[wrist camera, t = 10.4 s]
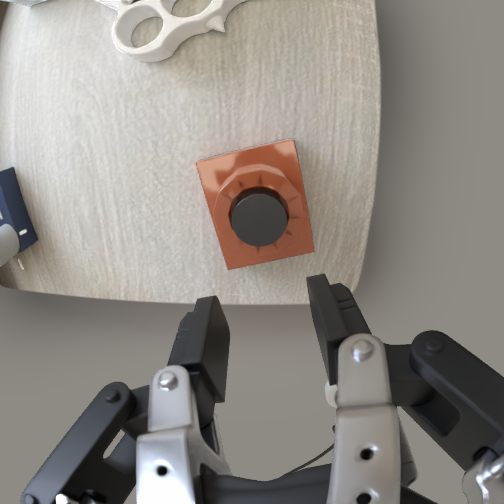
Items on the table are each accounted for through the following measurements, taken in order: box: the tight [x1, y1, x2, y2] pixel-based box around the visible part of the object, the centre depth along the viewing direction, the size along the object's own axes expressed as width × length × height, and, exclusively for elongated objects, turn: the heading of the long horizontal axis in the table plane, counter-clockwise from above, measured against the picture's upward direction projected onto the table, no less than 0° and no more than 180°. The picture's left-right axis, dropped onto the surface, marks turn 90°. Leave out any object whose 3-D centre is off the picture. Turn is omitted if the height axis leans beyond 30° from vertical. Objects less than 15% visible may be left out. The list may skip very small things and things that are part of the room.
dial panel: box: [0, 167, 38, 270], centre depth 23 cm, size 12×10×3 cm
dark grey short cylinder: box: [232, 189, 287, 247], centre depth 20 cm, size 4×4×2 cm
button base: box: [196, 139, 314, 270], centre depth 23 cm, size 10×8×4 cm
